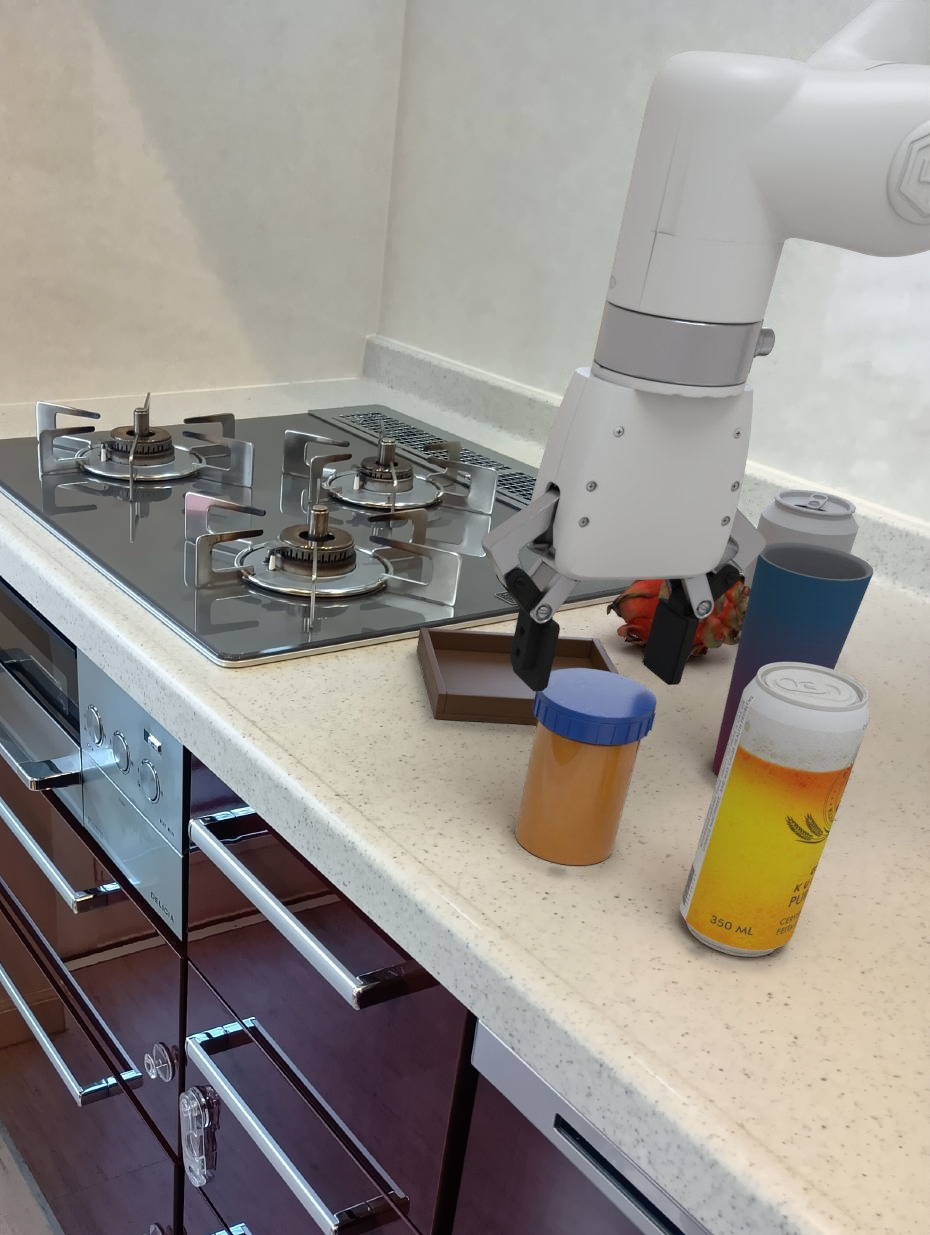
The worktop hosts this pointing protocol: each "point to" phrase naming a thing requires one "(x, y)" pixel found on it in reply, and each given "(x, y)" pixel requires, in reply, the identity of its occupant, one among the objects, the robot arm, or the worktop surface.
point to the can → (806, 522)
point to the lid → (595, 706)
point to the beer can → (773, 806)
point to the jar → (573, 798)
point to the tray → (491, 673)
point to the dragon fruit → (711, 630)
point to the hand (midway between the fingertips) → (595, 676)
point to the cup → (794, 615)
